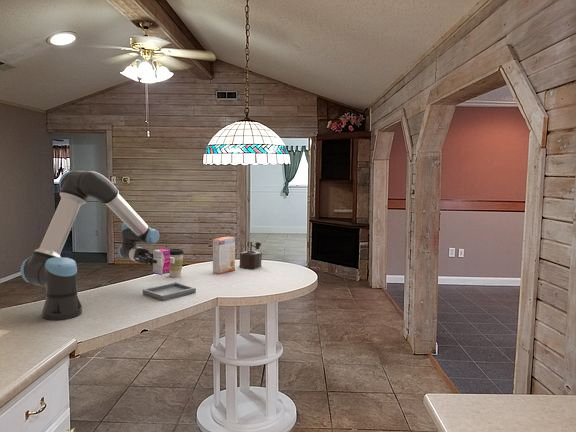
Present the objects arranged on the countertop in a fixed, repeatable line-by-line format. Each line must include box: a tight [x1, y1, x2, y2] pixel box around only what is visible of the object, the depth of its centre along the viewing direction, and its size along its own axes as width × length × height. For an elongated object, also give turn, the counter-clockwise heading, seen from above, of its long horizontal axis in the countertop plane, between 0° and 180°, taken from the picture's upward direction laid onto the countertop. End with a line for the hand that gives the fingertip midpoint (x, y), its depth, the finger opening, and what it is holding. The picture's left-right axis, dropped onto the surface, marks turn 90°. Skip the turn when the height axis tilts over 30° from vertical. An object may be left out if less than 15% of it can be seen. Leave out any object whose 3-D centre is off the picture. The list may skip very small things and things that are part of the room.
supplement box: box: [152, 248, 170, 276], centre depth 222 cm, size 6×6×12 cm
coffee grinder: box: [239, 240, 263, 270], centre depth 290 cm, size 16×11×18 cm
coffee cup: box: [168, 248, 185, 278], centre depth 263 cm, size 10×10×15 cm
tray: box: [142, 281, 197, 302], centre depth 227 cm, size 20×16×2 cm
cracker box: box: [212, 235, 236, 275], centre depth 276 cm, size 14×6×21 cm, turn 144°
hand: (167, 261), depth 218 cm, fingers closed on supplement box, 6 cm apart
